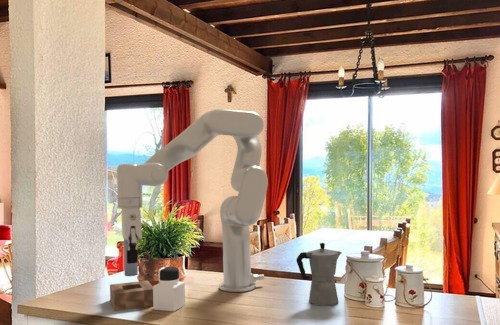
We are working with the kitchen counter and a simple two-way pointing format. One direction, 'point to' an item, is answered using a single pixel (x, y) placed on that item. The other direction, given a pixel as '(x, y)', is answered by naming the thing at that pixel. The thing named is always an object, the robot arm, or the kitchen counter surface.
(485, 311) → the kitchen counter surface
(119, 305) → the socket
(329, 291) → the coffeepot
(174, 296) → the medicine bottle
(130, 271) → the peg
